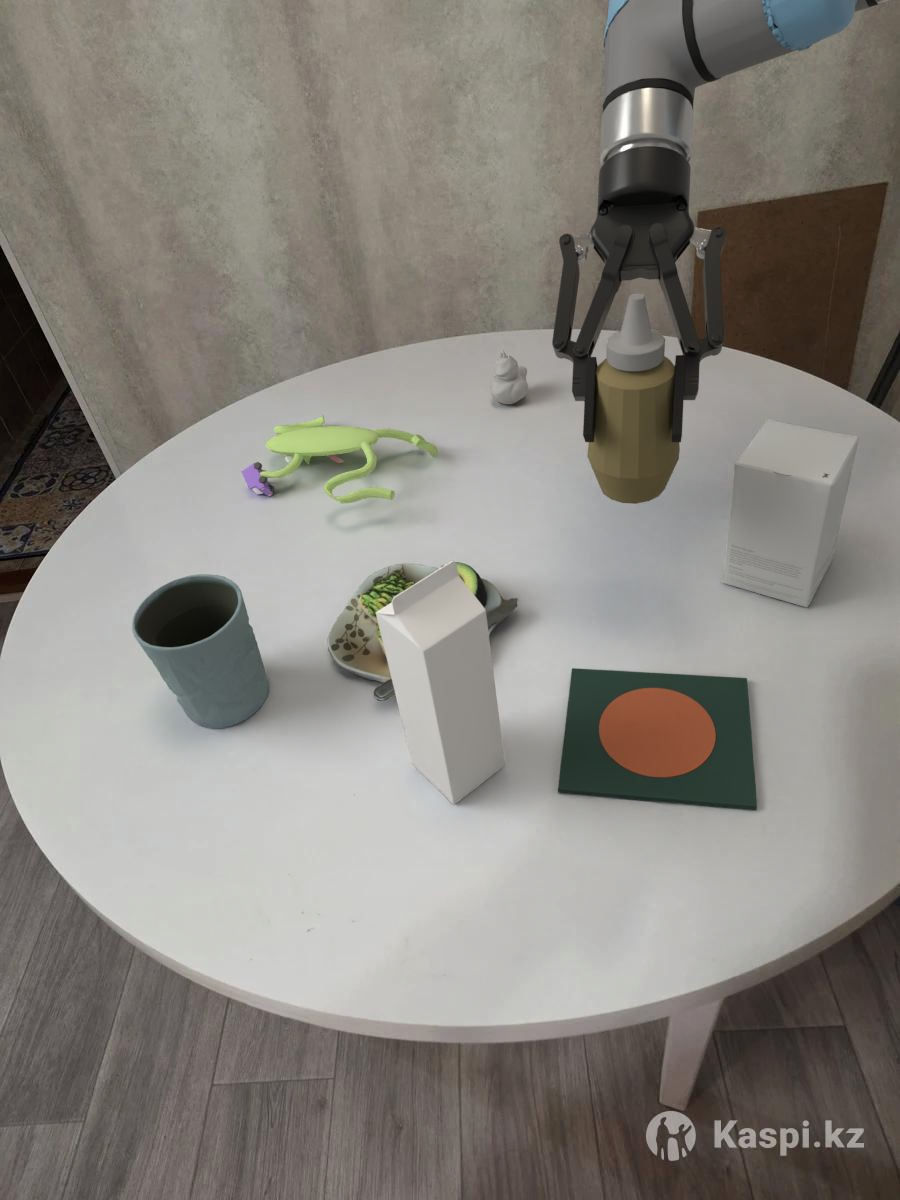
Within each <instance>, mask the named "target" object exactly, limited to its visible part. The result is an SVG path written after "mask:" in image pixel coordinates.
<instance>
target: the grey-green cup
mask: <svg viewBox="0 0 900 1200" xmlns="http://www.w3.org/2000/svg"><path fill="white" fill-rule="evenodd" d="M131 623H132V624H131V631H132V634H133V637H134V639H135V640H136V641H137V642H138V644H139V646H140V647H141V649H142V650H143V651H144V653H145V655H146V656H147V657H148V658H149V660H150V661H151V662H152V664H153V665H154V667H155V668H156V670H157V672H158V673H159V675H160V677H161V679H162V680H163V681H164V683H165V684H166V686H167V687H168V689H169V690H170V691H171V692H172V694H174V695H175V696H176V700H177V703H178V704H179V706H180V707H181V708H182V710H183V711H184V713H185V714H186V716H187V717H188V718H189V719H190V720H191V721H192V722H193V723H194V724H196V725H197V726H200V727H203V728H207V729H213V730H214V729H226V728H228V727H229V728H230V727H233V726H235V725H236V724H240V723H242V722H244V721H246V720H247V719H249V718H250V717H251V716H253V715H254V714H255V713H256V712H257V711H258V710H260V708H261V707H263V705H264V704H265V702H266V700H267V698H268V695H269V691H270V690H269V687H270V684H269V683H270V682H269V677H268V674H267V671H266V667H265V665H264V662H263V658H262V656H261V651H260V649H259V644H258V640H257V639H256V634H255V632H254V628H253V627H252V626H251V624H250V617H249V614H248V610H247V606H246V603H245V599H244V596H243V592H242V590H241V588H240V587H239V585H238V584H237V583H236V582H235V581H233V580H232V579H230V578H227V577H225V576H223V575H218V574H208V573H207V574H206V573H205V574H204V573H201V574H192V575H187V576H183V577H180V578H177V579H174V580H172V581H170V582H167V583H166V584H164V585H162V586H160V587H158V588H156V589H155V590H154V591H152V592H151V593H150V594H149V595H148V596H147V597H145V599H144V600H142V602H141V603H140V605H139V606H138V607H137V609H136V611H135V612H134V614H133V617H132V622H131Z"/></svg>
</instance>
